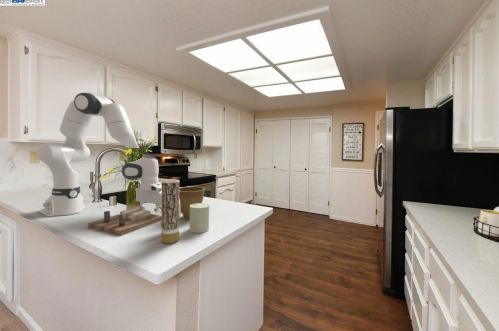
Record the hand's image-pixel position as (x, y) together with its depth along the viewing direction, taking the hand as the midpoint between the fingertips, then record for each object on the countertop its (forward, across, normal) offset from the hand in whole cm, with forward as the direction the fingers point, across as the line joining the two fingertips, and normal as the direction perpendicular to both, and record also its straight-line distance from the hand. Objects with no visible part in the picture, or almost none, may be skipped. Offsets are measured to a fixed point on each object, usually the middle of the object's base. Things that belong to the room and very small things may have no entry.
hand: (149, 210), depth 122 cm
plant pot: (+3, +21, +8) cm, 23 cm away
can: (+3, +36, -5) cm, 37 cm away
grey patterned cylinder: (+3, +33, -21) cm, 39 cm away
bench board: (+3, 0, -14) cm, 14 cm away
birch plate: (+1, 0, -10) cm, 10 cm away
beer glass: (+3, +27, -13) cm, 30 cm away
